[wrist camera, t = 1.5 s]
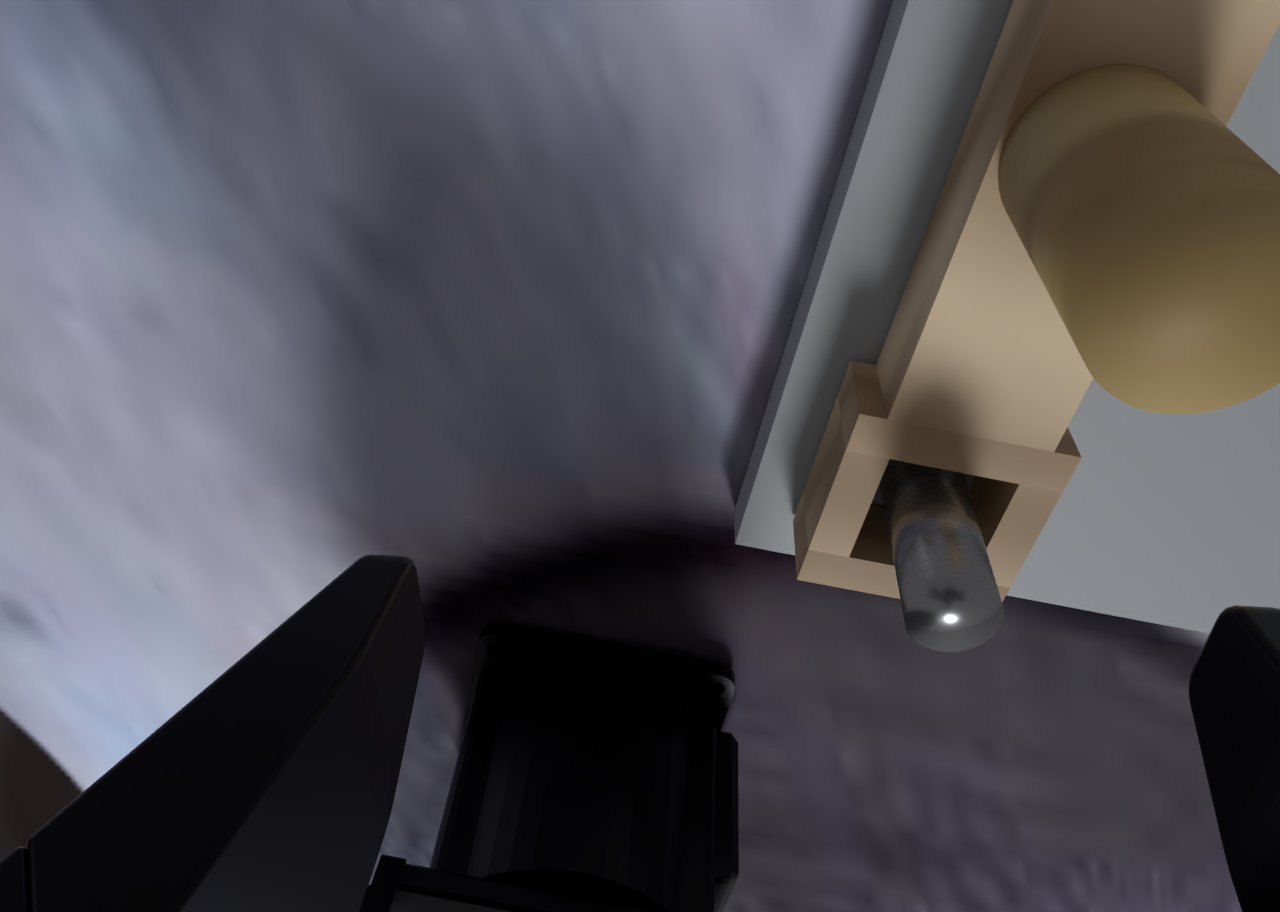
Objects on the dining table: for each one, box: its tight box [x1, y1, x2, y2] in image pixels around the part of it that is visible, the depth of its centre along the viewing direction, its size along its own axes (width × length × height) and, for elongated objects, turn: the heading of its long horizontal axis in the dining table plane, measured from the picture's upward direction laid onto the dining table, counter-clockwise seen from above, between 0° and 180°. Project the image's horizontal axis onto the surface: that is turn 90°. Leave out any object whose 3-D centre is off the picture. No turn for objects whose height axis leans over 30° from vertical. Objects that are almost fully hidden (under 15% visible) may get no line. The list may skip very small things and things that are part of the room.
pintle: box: [879, 459, 1004, 652], centre depth 19 cm, size 2×2×4 cm
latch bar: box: [793, 0, 1280, 602], centre depth 15 cm, size 14×4×6 cm, turn 170°
